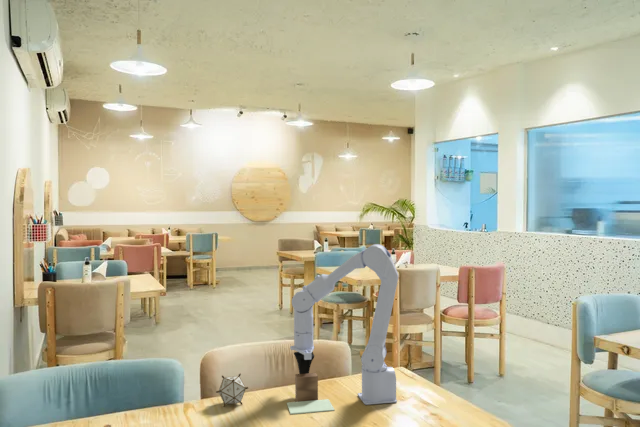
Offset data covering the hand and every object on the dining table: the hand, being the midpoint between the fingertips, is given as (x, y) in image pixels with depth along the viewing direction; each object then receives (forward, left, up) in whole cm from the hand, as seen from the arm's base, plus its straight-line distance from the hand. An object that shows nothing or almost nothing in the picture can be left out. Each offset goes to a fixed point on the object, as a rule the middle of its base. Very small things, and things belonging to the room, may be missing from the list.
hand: (304, 377), depth 147 cm
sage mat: (0, +10, -5) cm, 11 cm away
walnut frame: (0, +4, -5) cm, 7 cm away
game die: (+21, +3, -5) cm, 22 cm away
